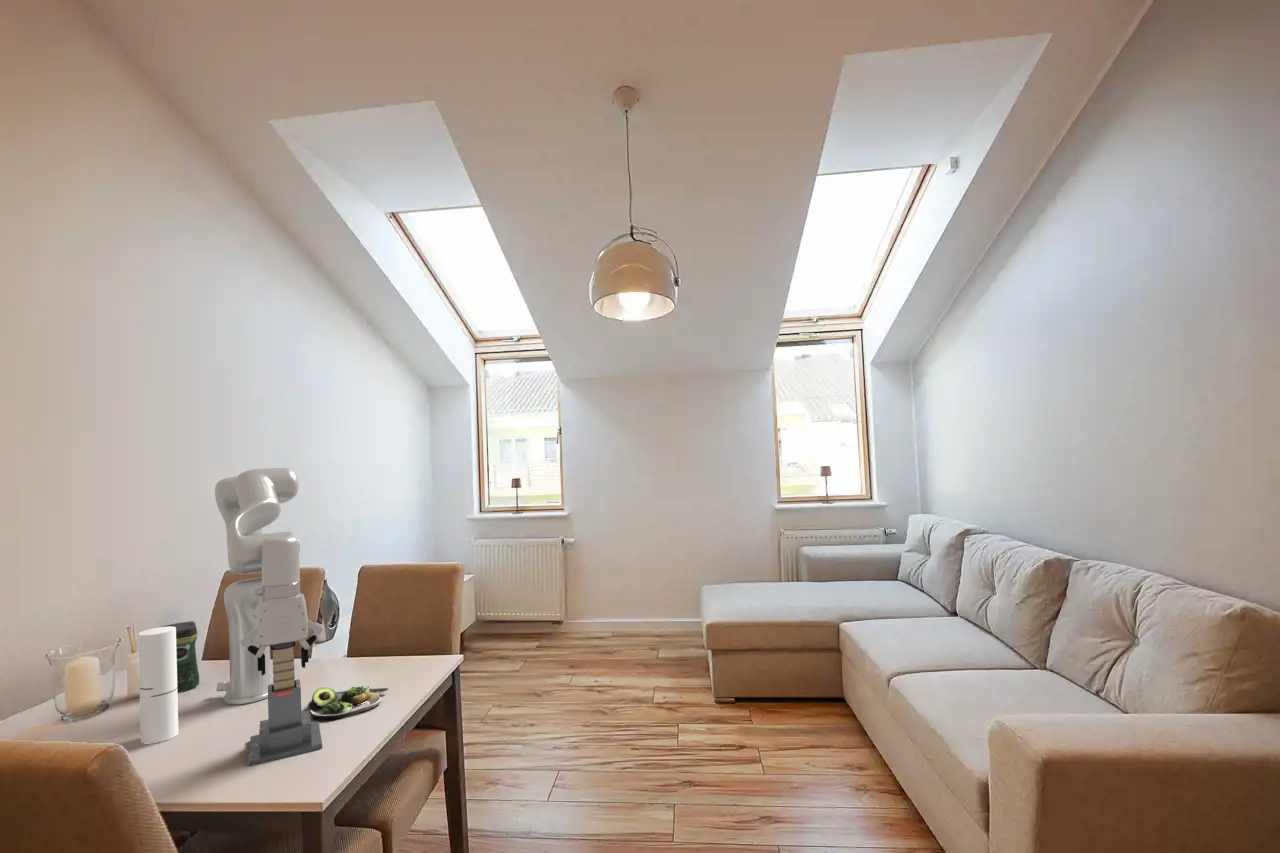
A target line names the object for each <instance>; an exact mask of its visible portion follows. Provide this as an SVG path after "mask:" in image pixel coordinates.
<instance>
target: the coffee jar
mask: <svg viewBox="0 0 1280 853" xmlns="http://www.w3.org/2000/svg"><path fill="white" fill-rule="evenodd" d="M169 626H171V627H176V653H177V693H179V692H184V691H189V690H191V689H193V688H196V687H197V686H199V685H200V673H199V666H198V660H197V653H196V652H197V651H196V650H197V649H196V642H197V640H198V636H199V635H198V634H199V633H198V628H197V624H196V623H195V621H193V620H191V621H185V622H177V623H171V624H167V625H161V626H160V627H169Z"/></svg>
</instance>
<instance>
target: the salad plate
mask: <svg viewBox="0 0 1280 853" xmlns="http://www.w3.org/2000/svg"><path fill="white" fill-rule="evenodd" d="M388 690H389V687H378V688H370V686H369V685H368V686H367V687H364V685H362V686H357V687H356V686H352V687H351V688H349V689H348V690H344V691H335V690H334V689H332V688H330V687H320V688H317V689H316V690H315V691H314V692H313V694H312V696H311V700H310V701H308V703H307V708H308V710H307V711H309V713H310V718H312V719H313V720H315V721H319V722H320V721H323V722H324V721H325V720H326V721H332V720H333V719H334V720H339V719H342V717H343V718H346V717H349V715H350V716H353V714H354V715H356V713H357V714H360V713H363V712H366V711H368V709H369V710H372V709H374V708H375V707H377V706H378V705H379V704H380V703H381V702H382V700H383V699H382V697H381V696H380V694H382V693H384V692H387V691H388ZM365 701H369V702H370V705H368V704H367V706H364V707H361V708H358V709H355V710H353V708H354V707H353V706H355V707H357V706H356V705H358V704H361V703H363V702H365ZM376 705H377V706H376ZM358 706H359V705H358ZM352 707H353V708H352ZM373 707H374V708H373ZM371 708H372V709H371ZM365 710H366V711H365ZM362 711H363V712H362ZM359 712H360V713H359ZM338 718H339V719H338Z"/></svg>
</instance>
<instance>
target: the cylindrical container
mask: <svg viewBox="0 0 1280 853" xmlns="http://www.w3.org/2000/svg"><path fill="white" fill-rule="evenodd" d="M137 636H138V638H137V640H138V676H139V678H138V679H139V682H138V683H139V712H140V713H139V718H140V719H139V720H140V721H139V722H140V728H139V729H140V743H141V742H142V743H154V742H160V741H164V740H167V739H170V738H172V739H174V738H175V736H176V735H177V734H178V735H179V707H178V706H179V705H178V704H179V701H178V698H179V697H178V696H179V695H178V692H177V653H176V627H171V626H169V627H161V626H160V627H159V626H158V627H154V628H150V629H146V630H142V631H140V632H138V634H137ZM178 735H177V736H178ZM177 736H176V737H177ZM173 737H174V738H173ZM170 740H171V739H170ZM167 741H168V740H167ZM164 742H165V741H164ZM142 743H141V744H142Z"/></svg>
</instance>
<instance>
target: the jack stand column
mask: <svg viewBox="0 0 1280 853" xmlns="http://www.w3.org/2000/svg"><path fill="white" fill-rule="evenodd" d="M295 646H297V641H296V642H290V643H284V644H278V645H272V646H270V651H272V666H273V667H272V675H273V677H272V678H273V679H272V683H273V684H274V692H275V691H280V690H285V689H291V688H294V680H296V677H295V655H294V647H295Z"/></svg>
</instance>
